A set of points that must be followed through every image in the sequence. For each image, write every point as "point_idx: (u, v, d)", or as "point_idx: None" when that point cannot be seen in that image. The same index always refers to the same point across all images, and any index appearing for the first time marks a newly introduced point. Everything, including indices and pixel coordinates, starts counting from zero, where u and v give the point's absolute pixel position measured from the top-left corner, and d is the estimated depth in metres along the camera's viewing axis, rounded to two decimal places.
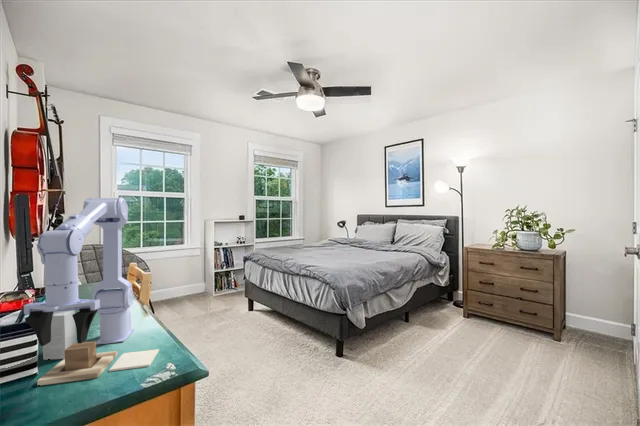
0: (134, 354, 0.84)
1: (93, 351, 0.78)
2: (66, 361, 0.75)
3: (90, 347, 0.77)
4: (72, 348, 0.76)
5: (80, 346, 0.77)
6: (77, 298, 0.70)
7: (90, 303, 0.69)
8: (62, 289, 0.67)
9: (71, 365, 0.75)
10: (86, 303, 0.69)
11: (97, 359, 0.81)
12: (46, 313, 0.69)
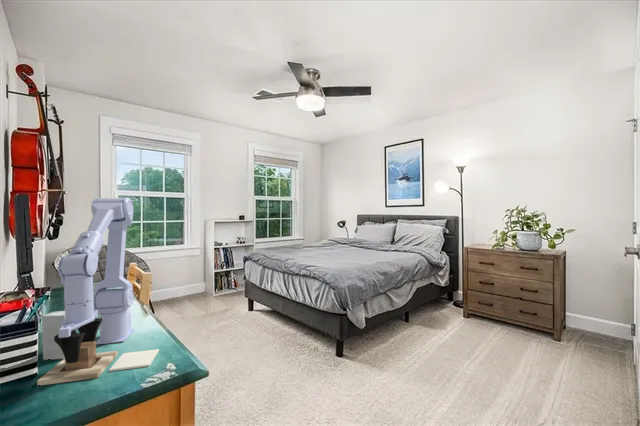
0: (134, 354, 0.84)
1: (93, 351, 0.78)
2: None
3: (90, 348, 0.77)
4: None
5: (80, 346, 0.77)
6: (76, 319, 0.75)
7: None
8: (65, 307, 0.75)
9: (71, 365, 0.75)
10: None
11: (97, 359, 0.81)
12: (89, 323, 0.81)
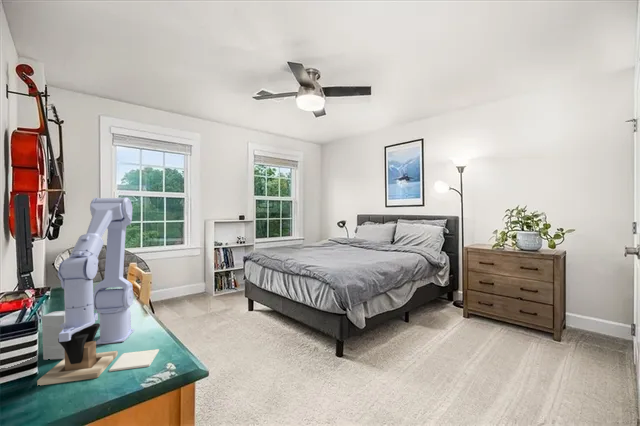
0: (134, 354, 0.84)
1: (93, 351, 0.78)
2: (66, 361, 0.75)
3: (90, 347, 0.77)
4: None
5: None
6: (76, 323, 0.75)
7: None
8: (65, 311, 0.75)
9: (71, 365, 0.75)
10: None
11: (97, 359, 0.81)
12: (86, 328, 0.80)
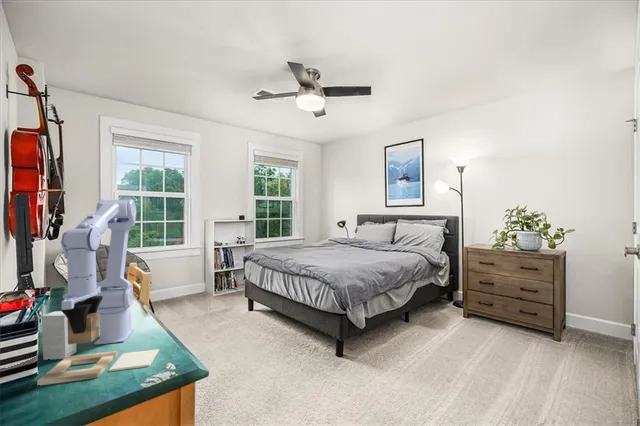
0: (134, 354, 0.84)
1: (95, 322, 0.79)
2: (69, 331, 0.75)
3: (92, 318, 0.77)
4: None
5: None
6: (79, 293, 0.75)
7: None
8: (68, 281, 0.75)
9: (74, 334, 0.75)
10: None
11: (97, 359, 0.81)
12: (89, 300, 0.80)
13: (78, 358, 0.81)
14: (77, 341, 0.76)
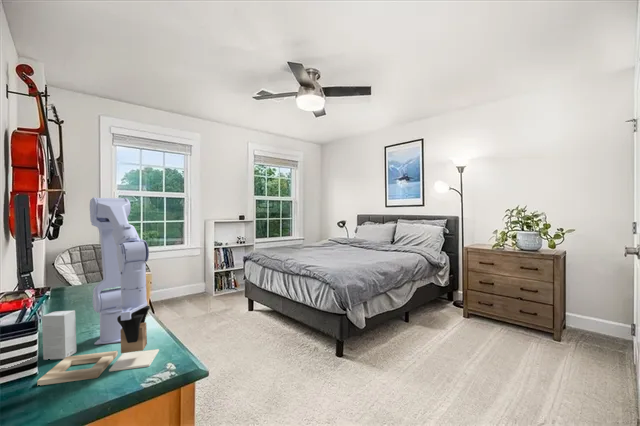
0: (134, 354, 0.84)
1: (145, 332, 0.82)
2: (122, 340, 0.79)
3: (143, 328, 0.81)
4: None
5: None
6: (133, 304, 0.79)
7: None
8: (121, 293, 0.79)
9: (126, 344, 0.79)
10: (122, 311, 0.75)
11: (97, 359, 0.81)
12: (138, 310, 0.83)
13: (78, 358, 0.81)
14: (129, 350, 0.79)
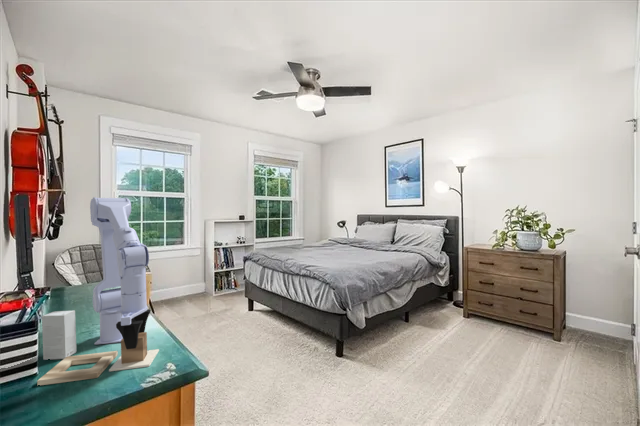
0: None
1: (145, 342, 0.82)
2: (122, 351, 0.79)
3: (143, 338, 0.81)
4: None
5: None
6: (133, 309, 0.79)
7: None
8: (121, 297, 0.79)
9: (127, 354, 0.79)
10: (122, 316, 0.75)
11: (97, 359, 0.81)
12: (139, 313, 0.84)
13: (78, 358, 0.81)
14: (130, 360, 0.79)
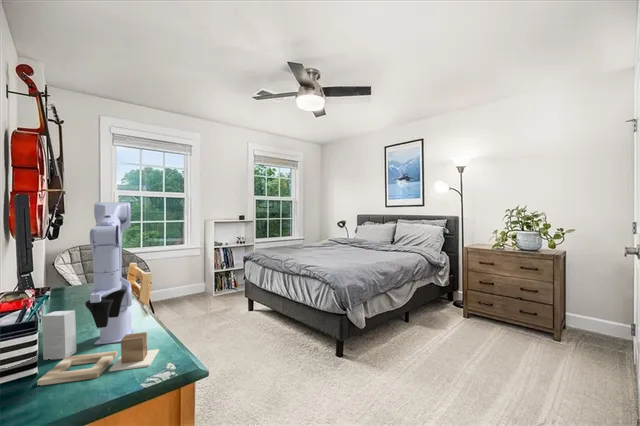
0: None
1: (145, 342, 0.82)
2: (122, 351, 0.79)
3: (143, 338, 0.81)
4: (127, 338, 0.80)
5: (134, 336, 0.81)
6: (105, 287, 0.79)
7: None
8: (94, 276, 0.80)
9: (127, 354, 0.79)
10: None
11: (97, 359, 0.81)
12: (114, 292, 0.85)
13: (78, 358, 0.81)
14: (130, 360, 0.79)
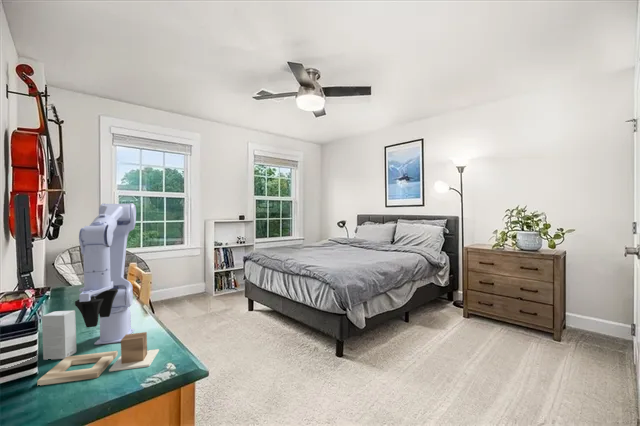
0: None
1: (145, 342, 0.82)
2: (122, 351, 0.79)
3: (143, 338, 0.81)
4: (127, 338, 0.80)
5: (134, 336, 0.81)
6: (95, 287, 0.79)
7: None
8: (84, 275, 0.80)
9: (127, 354, 0.79)
10: None
11: (97, 359, 0.81)
12: (105, 292, 0.85)
13: (78, 358, 0.81)
14: (130, 360, 0.79)
